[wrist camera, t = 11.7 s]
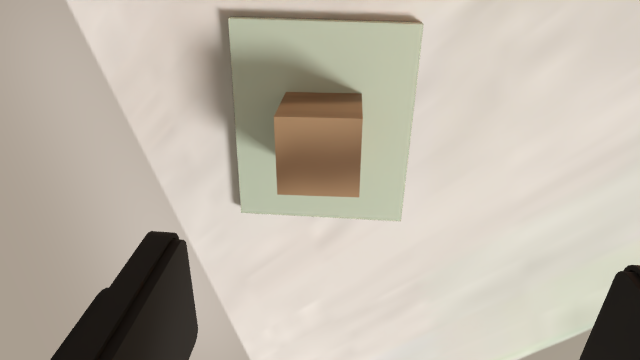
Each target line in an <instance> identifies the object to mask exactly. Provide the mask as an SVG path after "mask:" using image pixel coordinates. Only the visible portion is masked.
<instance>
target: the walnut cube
mask: <svg viewBox="0 0 640 360" xmlns="http://www.w3.org/2000/svg"><path fill="white" fill-rule="evenodd" d="M362 124H363V113H362V93H315V92H285V95H284V97H283V99H282V101H281V103H280V105H279V107H278V109H277V111H276V113H275V115H274V135H275V156H276V177H277V195H302V196H331V197H359V192H360V170H361V147H362Z"/></svg>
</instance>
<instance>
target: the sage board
mask: <svg viewBox="0 0 640 360" xmlns="http://www.w3.org/2000/svg"><path fill="white" fill-rule="evenodd" d="M228 25H229V40H230V55H231V69H232V84H233V99H234V114H235V129H236V144H237V159H238V173H239V188H240V203H241V213H255V214H273V215H292V216H311V217H330V218H348V219H367V220H386V221H401V215H402V207H403V198H404V189H405V181H406V172H407V163H408V155H409V146H410V137H411V129H412V120H413V111H414V103H415V94H416V85H417V77H418V68H419V59H420V51H421V42H422V33H423V25H424V24H423V23H422V22H390V21H357V20H323V19H290V18H257V17H230V18H228ZM285 92H315V93H362V113H363V124H362V147H361V170H360V192H359V197H331V196H302V195H277V177H276V156H275V135H274V115H275V113H276V111H277V109H278V107H279V105H280V103H281V101H282V99H283V97H284V95H285Z"/></svg>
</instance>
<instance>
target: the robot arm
mask: <svg viewBox="0 0 640 360" xmlns="http://www.w3.org/2000/svg"><path fill="white" fill-rule="evenodd" d="M197 333H198V325H197V318H196V310H195V304H194V296H193V289H192V282H191V275H190V267H189V260H188V252H187V245H186V242H185V241H184V240H179V237H178V235H177V234H176V233H169V232H155V231H151V232H149V233H148V234H147V235H146V236H145V238H144V239H143V240H142V242H141V243H140V245H139V246H138V248H137V249H136V250H135V252H134V253H133V255H132V256H131V257H130V259H129V260H128V262H127V263H126V264H125V266H124V267H123V269H122V270H121V272H120V273H119V275H118V276H117V277H116V279H115V280H114V281H113V283H112V284H111V286H110V287H109V288H105V289H103V290H102V291H101V292H100V293H99V294H98V295H97V296H96V297H95V299H94V300H93V302H92V303H91V304H90V306H89V307H88V309H87V310H86V311H85V313H84V314H83V315H82V317H81V318H80V320H79V321H78V322H77V324H76V325H75V327H74V328H73V329H72V331H71V332H70V333H69V335H68V336H67V337H66V339H65V340H64V342H63V343H62V344H61V346H60V347H59V349H58V350H57V351H56V353H55V354H54V355H53V357H52V358H51V360H189V357H190V355H191V352H192V350H193V347H194V345H195V342H196V339H197ZM580 360H640V266H639V265H629V266H627V267H626V268H625V269H624V271H620V272H618V273H617V274H616V276H615V278H614V280H613V282H612V285H611V287H610V289H609V292H608V294H607V296H606V299H605V301H604V303H603V305H602V308H601V310H600V312H599V315H598V317H597V319H596V322H595V324H594V326H593V329H592V331H591V333H590V336H589V338H588V340H587V343H586V345H585V347H584V350H583V352H582V355H581V357H580Z"/></svg>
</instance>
